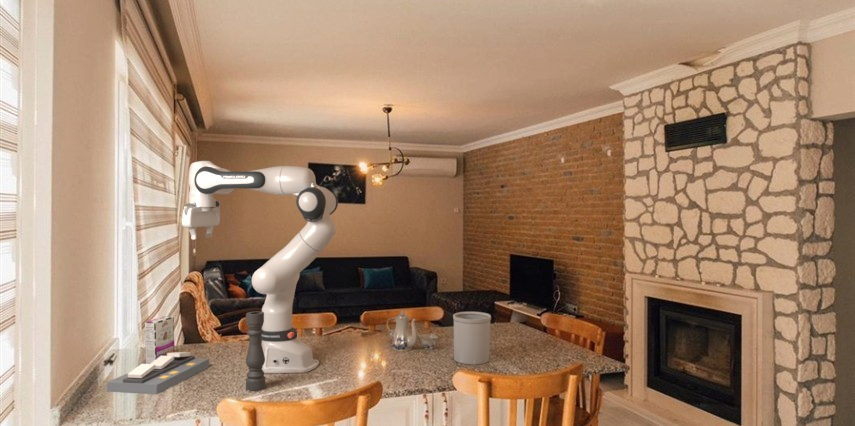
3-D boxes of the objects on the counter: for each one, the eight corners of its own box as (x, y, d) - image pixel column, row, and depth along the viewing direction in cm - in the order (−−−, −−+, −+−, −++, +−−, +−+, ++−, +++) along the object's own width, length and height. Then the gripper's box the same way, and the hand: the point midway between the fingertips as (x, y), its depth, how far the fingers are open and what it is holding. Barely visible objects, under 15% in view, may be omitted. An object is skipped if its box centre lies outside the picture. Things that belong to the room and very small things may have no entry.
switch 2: (174, 359, 193) (173, 356, 193) (161, 369, 186) (161, 365, 186) (161, 358, 194) (160, 355, 194) (148, 368, 187) (148, 365, 187)
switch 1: (155, 367, 183) (155, 364, 183) (141, 378, 176) (141, 374, 176) (142, 366, 184) (141, 363, 184) (128, 377, 177) (127, 374, 177)
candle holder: (248, 385, 182) (247, 311, 182) (267, 385, 182) (266, 311, 182) (243, 391, 176) (243, 315, 175) (263, 391, 176) (262, 314, 176)
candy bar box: (164, 356, 218) (163, 315, 218) (175, 357, 217) (174, 316, 217) (144, 364, 207) (143, 321, 207) (155, 365, 206) (155, 322, 206)
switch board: (209, 366, 203) (209, 356, 203) (156, 394, 174) (156, 381, 174) (165, 364, 206) (165, 354, 206) (106, 391, 177) (106, 379, 177)
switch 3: (190, 355, 203) (191, 352, 203) (179, 356, 196) (179, 353, 196) (178, 355, 204) (178, 352, 204) (166, 356, 197) (167, 353, 197)
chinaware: (444, 351, 230) (446, 312, 231) (423, 356, 216) (425, 314, 217) (391, 342, 245) (393, 305, 246) (368, 347, 231) (370, 307, 232)
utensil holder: (496, 357, 215) (495, 313, 215) (483, 367, 201) (483, 320, 201) (461, 353, 221) (461, 310, 221) (447, 362, 208) (447, 317, 207)
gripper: (192, 202, 198) (193, 240, 198) (222, 202, 218) (223, 237, 218) (177, 202, 199) (177, 240, 199) (208, 203, 219) (208, 237, 219)
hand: (201, 238), depth 209 cm, fingers open, 8 cm apart
